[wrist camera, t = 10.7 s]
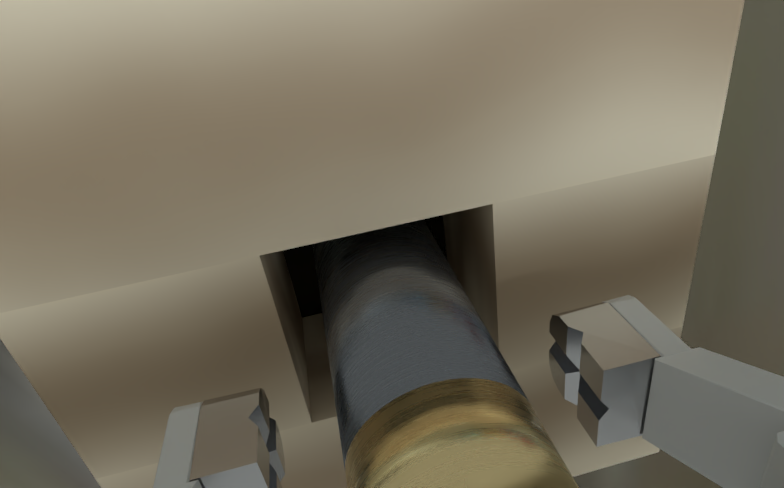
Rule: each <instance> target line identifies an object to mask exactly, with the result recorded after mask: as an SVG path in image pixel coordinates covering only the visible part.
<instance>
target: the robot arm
mask: <svg viewBox="0 0 784 488" xmlns="http://www.w3.org/2000/svg"><path fill="white" fill-rule="evenodd" d="M549 332H550V334H551V335H552V336H553V338H554V339H555V343H554V344H553V345H552V347H551V348H550V350H549V365H550V369H551V373H552V377H553V380H554V382H555V384H556V386H557V388H558V390H559V391H560V393H561V395H562V396H563V398H564V399H565V400H567V401H569V402H571V403H573V404H575V405H577V419H578V420H579V422H580V423H581V425H582V426H583V428H584V429H585V431H586V432H587V433H588V435H589V436H590V438H591V439H592V441H593V442H594V444H595V445H596V447H598V446H602V445H606V444H610V443H614V442H618V441H622V440H626V439H630V438H634V437H638V436H642V435H643V436H642V438H643V439H645V440H646V441H648V442H649V443H651V444H653V445H654V446H656V447H658V448H659V449H661V450H662V451H664V452H666V453H667V454H669V455H671V456H672V457H674V458H675V459H677V460H679V461H680V462H682V463H684V464H685V465H687V466H688V467H690V468H692V469H693V470H695V471H697V472H698V473H700V474H701V475H703V476H705V477H706V478H708V479H710V480H711V481H713V482H714V483H716V484H718V485H719V486H721V487H723V488H784V377H783V376H780V375H777V374H774V373H771V372H768V371H766V370H763V369H760V368H757V367H754V366H751V365H749V364H746V363H743V362H740V361H737V360H734V359H732V358H729V357H726V356H723V355H720V354H717V353H715V352H712V351H709V350H706V349H703V348H700V347H698V348H694V349H691V348H690V347H689V346H688V345H687V344H685V343H684V342H683V341H682V340H681V339H680V338H679V337H678V336H677V335H676V334H675V333H673V332H672V331H671V330H670V329H669V328H668V327H667V326H666V325H665V324H664V323H663V322H661V321H660V320H659V319H658V318H657V317H656V316H655V315H654V314H653V313H652V312H651V311H649V310H648V309H647V308H646V307H645V306H644V305H643V304H642V303H641V302H640V301H639V300H637V299H636V298H635V297H633V296H630V295H626V296H622V297H618V298H615V299H611V300H607V301H603V302H602V303H597V304H593V305H589V306H585V307H581V308H578V309H574V310H570V311H566V312H562V313H558V314H554V315H552V317H551V320H550V328H549ZM284 475H285V459H284V452H283V445H282V440H281V436H280V432H279V429H278V426H277V423H276V420H274V419H272V418H270V417H269V401H268V399H267V396H266V394H265V391H264V389H262V388H257V389H253V390H248V391H244V392H239V393H235V394H230V395H226V396H222V397H217V398H213V399H208V400H204V401H203V402H198V403H193V404H189V405H184V406H180V407H175V408H174V409H173V410H172V412H171V413H170V415H169V418H168V422H167V427H166V431H165V436H164V440H163V445H162V449H161V454H160V458H159V463H158V467H157V472H156V476H155V480H154V485H153V488H282V485H281V483H280V482H281V480H282V478H283V477H284Z"/></svg>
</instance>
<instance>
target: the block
mask: <svg viewBox="0 0 784 488" xmlns="http://www.w3.org/2000/svg"><path fill="white" fill-rule="evenodd" d="M744 1H745V0H0V339H1V340H2V342H3V343H4V345H5V346H6V348H7V349H8V351H9V352H10V354H11V355H12V356H13V358H14V359H15V361H16V362H17V364H18V365H19V367H20V368H21V370H22V371H23V373H24V374H25V376H26V377H27V379H28V380H29V382H30V383H31V385H32V386H33V387H34V389H35V390H36V392H37V393H38V395H39V396H40V398H41V399H42V401H43V402H44V404H45V405H46V407H47V408H48V410H49V411H50V413H51V414H52V416H53V417H54V418H55V420H56V421H57V423H58V424H59V426H60V427H61V429H62V430H63V432H64V433H65V435H66V436H67V438H68V439H69V441H70V442H71V444H72V445H73V447H74V448H75V449H76V451H77V452H78V454H79V455H80V457H81V458H82V460H83V461H84V463H85V464H86V466H87V467H88V469H89V470H90V472H91V473H92V475H93V476H94V477H95V479H96V480H97V482H98V483H99V485H100V486H101V488H153V485H154V480H155V476H156V472H157V467H158V463H159V458H160V454H161V449H162V445H163V440H164V436H165V431H166V427H167V422H168V418H169V415H170V413H171V412H172V410H173V409H174V408H175V407H180V406H184V405H189V404H193V403H198V402H203V401H204V400H208V399H213V398H217V397H222V396H226V395H230V394H235V393H239V392H244V391H248V390H253V389H257V388H262V389H264V391H265V394H266V396H267V399H268V401H269V417H270V418H272V419H274V420H276V423H277V426H278V429H279V432H280V436H281V440H282V445H283V452H284V459H285V475H284V477H283V478H282V480H281V482H280V483H281V485H282V488H347V482H346V475H345V468H344V461H343V454H342V447H341V440H340V433H339V426H338V419H337V412H336V406H335V399H334V392H333V385H332V378H331V371H330V364H329V357H328V350H327V343H326V336H325V329H324V322H323V315H322V313H320V314H315V315H311V316H307V317H303V318H302V316H301V312H300V309H299V305H298V302H297V298H296V294H295V291H294V287H293V284H292V280H291V277H290V273H289V270H288V266H287V263H286V259H285V256H284V252H283V250H287V249H292V248H296V247H301V246H305V245H310V244H314V243H319V242H323V241H328V240H332V239H337V238H341V237H346V236H350V235H355V234H359V233H364V232H368V231H373V230H377V229H382V228H386V227H391V226H395V225H400V224H404V223H409V222H413V221H418V220H422V219H427V218H431V217H436V216H441V215H443V222H444V232H445V243H446V253H447V261H448V263H449V264H450V266H451V268H452V270H453V271H454V273H455V275H456V276H457V278H458V280H459V282H460V283H461V285H462V287H463V289H464V290H465V292H466V294H467V295H468V297H469V299H470V301H471V302H472V304H473V306H474V308H475V309H476V311H477V313H478V314H479V316H480V318H481V320H482V321H483V323H484V325H485V326H486V328H487V330H488V332H489V333H490V335H491V337H492V339H493V340H494V342H495V344H496V345H497V347H498V349H499V351H500V352H501V354H502V356H503V358H504V359H505V361H506V363H507V364H508V366H509V368H510V370H511V371H512V373H513V375H514V376H515V378H516V380H517V382H518V383H519V385H520V387H521V389H522V390H523V392H524V394H525V395H526V397H527V399H528V401H529V402H530V404H531V406H532V408H533V409H534V411H535V413H536V414H537V416H538V418H539V420H540V421H541V423H542V425H543V426H544V428H545V430H546V432H547V433H548V435H549V437H550V439H551V440H552V442H553V444H554V445H555V447H556V449H557V451H558V452H559V454H560V456H561V458H562V459H563V461H564V463H565V464H566V466H567V468H568V470H569V471H570V473H571V475H572V476H573V477H574V476H578V475H581V474H585V473H588V472H592V471H595V470H599V469H602V468H606V467H609V466H613V465H616V464H619V463H623V462H626V461H630V460H633V459H637V458H640V457H644V456H647V455H651V454H654V453H658V452H659V450H660V449H659V448H658V447H656V446H654V445H653V444H651V443H649V442H648V441H646V440H645V439H643V438H642V436H643V435H642V436H638V437H634V438H630V439H626V440H622V441H618V442H614V443H610V444H606V445H602V446H598V447H596V445H595V444H594V442H593V441H592V439H591V438H590V436H589V435H588V433H587V432H586V431H585V429H584V428H583V426H582V425H581V423H580V422H579V420H578V419H577V405H575V404H573V403H571V402H569V401H567V400H565V399H564V398H563V396H562V395H561V393H560V391H559V390H558V388H557V386H556V384H555V382H554V380H553V377H552V373H551V369H550V365H549V350H550V348H551V347H552V345H553V344H554V343H555V339H554V338H553V336H552V335H551V334H550V332H549V328H550V320H551V317H552V315H554V314H558V313H562V312H566V311H570V310H574V309H578V308H581V307H585V306H589V305H593V304H597V303H602V302H603V301H607V300H611V299H615V298H618V297H622V296H626V295H630V296H633V297H635V298H636V299H637V300H639V301H640V302H641V303H642V304H643V305H644V306H645V307H646V308H647V309H648V310H649V311H651V312H652V313H653V314H654V315H655V316H656V317H657V318H658V319H659V320H660V321H661V322H663V323H664V324H665V325H666V326H667V327H668V328H669V329H670V330H671V331H672V332H673V333H675V334H676V335H677V336H678V337H679V338H680V339H681V334H682V328H683V323H684V318H685V312H686V307H687V302H688V297H689V291H690V286H691V281H692V275H693V270H694V265H695V260H696V254H697V249H698V244H699V239H700V233H701V228H702V223H703V217H704V212H705V207H706V202H707V196H708V191H709V186H710V180H711V175H712V170H713V165H714V159H715V154H716V149H717V143H718V138H719V133H720V128H721V122H722V117H723V112H724V107H725V101H726V96H727V91H728V85H729V80H730V75H731V70H732V64H733V59H734V54H735V48H736V43H737V38H738V33H739V27H740V22H741V17H742V11H743V6H744Z"/></svg>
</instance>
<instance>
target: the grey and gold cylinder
mask: <svg viewBox="0 0 784 488" xmlns="http://www.w3.org/2000/svg"><path fill="white" fill-rule="evenodd" d="M312 245H313V252H314V259H315V266H316V273H317V280H318V287H319V294H320V301H321V308H322V315H323V322H324V329H325V336H326V343H327V350H328V357H329V364H330V371H331V378H332V385H333V392H334V399H335V406H336V412H337V419H338V426H339V433H340V440H341V447H342V454H343V461H344V468H345V475H346V482H347V488H579V487H578V485H577V483H576V482H575V480H574V478H573V476H572V475H571V473H570V471H569V470H568V468H567V466H566V464H565V463H564V461H563V459H562V458H561V456H560V454H559V452H558V451H557V449H556V447H555V445H554V444H553V442H552V440H551V439H550V437H549V435H548V433H547V432H546V430H545V428H544V426H543V425H542V423H541V421H540V420H539V418H538V416H537V414H536V413H535V411H534V409H533V408H532V406H531V404H530V402H529V401H528V399H527V397H526V395H525V394H524V392H523V390H522V389H521V387H520V385H519V383H518V382H517V380H516V378H515V376H514V375H513V373H512V371H511V370H510V368H509V366H508V364H507V363H506V361H505V359H504V358H503V356H502V354H501V352H500V351H499V349H498V347H497V345H496V344H495V342H494V340H493V339H492V337H491V335H490V333H489V332H488V330H487V328H486V326H485V325H484V323H483V321H482V320H481V318H480V316H479V314H478V313H477V311H476V309H475V308H474V306H473V304H472V302H471V301H470V299H469V297H468V295H467V294H466V292H465V290H464V289H463V287H462V285H461V283H460V282H459V280H458V278H457V276H456V275H455V273H454V271H453V270H452V268H451V266H450V264H449V263H448V261H447V259H446V257H445V256H444V254H443V252H442V251H441V249H440V247H439V245H438V244H437V242H436V240H435V239H434V237H433V235H432V233H431V232H430V230H429V228H428V226H427V225H426V223H425V221H424V220H423V219H422V220H418V221H413V222H409V223H404V224H400V225H395V226H391V227H386V228H382V229H377V230H373V231H368V232H364V233H359V234H355V235H350V236H346V237H341V238H337V239H332V240H328V241H323V242H319V243H314V244H312Z"/></svg>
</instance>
